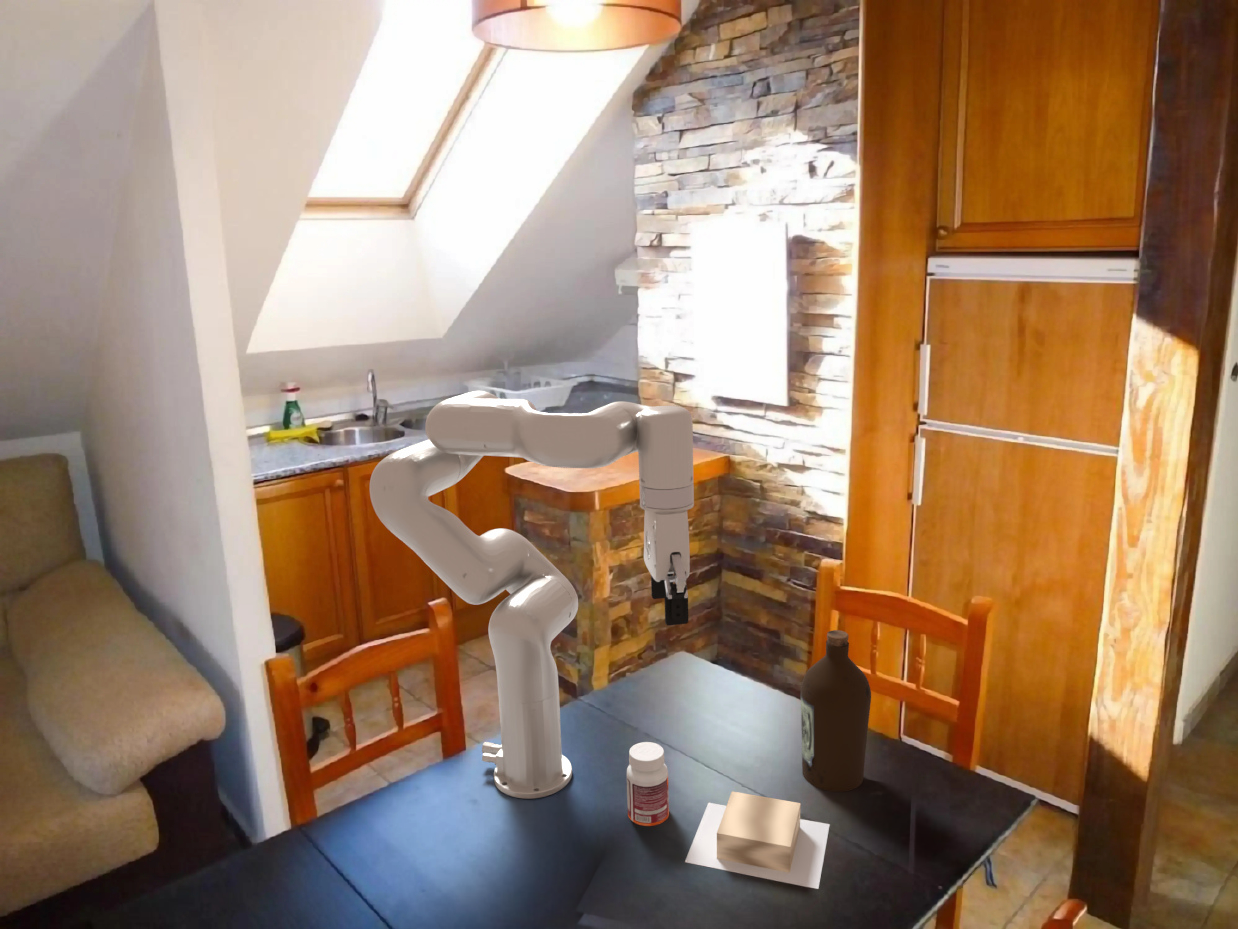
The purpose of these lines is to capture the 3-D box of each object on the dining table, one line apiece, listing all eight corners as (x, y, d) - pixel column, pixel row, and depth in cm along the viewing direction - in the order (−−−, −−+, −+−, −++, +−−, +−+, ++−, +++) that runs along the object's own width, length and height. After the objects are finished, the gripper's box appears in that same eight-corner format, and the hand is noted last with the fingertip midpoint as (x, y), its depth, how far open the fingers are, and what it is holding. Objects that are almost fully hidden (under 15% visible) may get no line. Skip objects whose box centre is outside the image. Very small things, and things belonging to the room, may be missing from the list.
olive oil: (859, 761, 147) (865, 619, 141) (873, 800, 137) (881, 649, 131) (794, 760, 148) (797, 619, 142) (803, 799, 138) (807, 649, 132)
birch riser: (716, 858, 124) (716, 833, 123) (731, 815, 133) (731, 791, 132) (789, 873, 120) (790, 847, 119) (799, 827, 130) (800, 803, 129)
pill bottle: (677, 821, 133) (676, 753, 130) (643, 837, 130) (641, 767, 127) (653, 801, 138) (651, 735, 135) (619, 815, 135) (617, 748, 132)
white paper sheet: (684, 868, 123) (684, 862, 123) (708, 808, 136) (708, 802, 136) (818, 895, 118) (818, 889, 117) (829, 830, 130) (829, 824, 130)
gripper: (629, 482, 132) (633, 590, 137) (652, 515, 116) (655, 637, 120) (679, 478, 134) (681, 586, 138) (708, 510, 117) (710, 632, 121)
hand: (669, 610), depth 129 cm, fingers open, 9 cm apart
